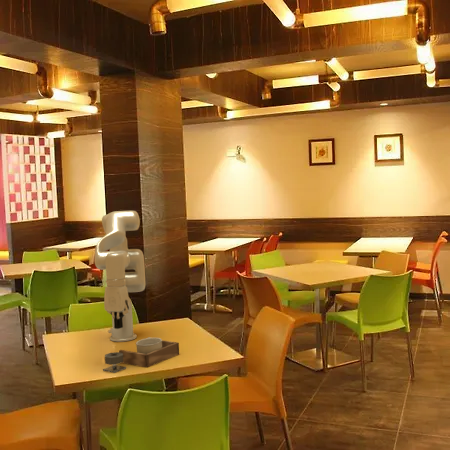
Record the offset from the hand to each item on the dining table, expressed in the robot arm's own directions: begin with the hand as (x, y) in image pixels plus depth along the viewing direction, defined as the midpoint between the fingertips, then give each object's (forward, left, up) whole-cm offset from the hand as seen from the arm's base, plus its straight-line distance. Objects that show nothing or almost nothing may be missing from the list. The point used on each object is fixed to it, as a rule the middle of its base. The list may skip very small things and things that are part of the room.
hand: (118, 327), depth 239 cm
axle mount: (+3, -6, -15) cm, 17 cm away
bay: (+5, +12, -15) cm, 20 cm away
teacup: (+6, +12, -15) cm, 20 cm away
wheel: (+3, -6, -12) cm, 14 cm away
